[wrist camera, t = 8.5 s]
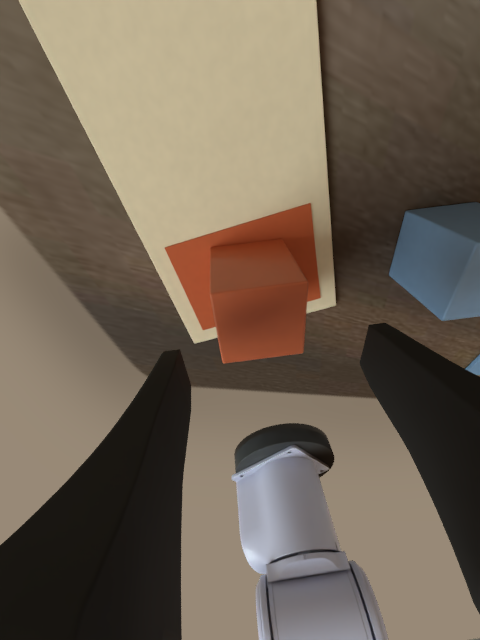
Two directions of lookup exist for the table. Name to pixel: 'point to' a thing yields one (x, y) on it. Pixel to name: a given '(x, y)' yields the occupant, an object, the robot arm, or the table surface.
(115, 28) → the sorting mat
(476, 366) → the blue pad
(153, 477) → the robot arm
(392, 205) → the table surface
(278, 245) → the terracotta block
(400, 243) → the slate block
